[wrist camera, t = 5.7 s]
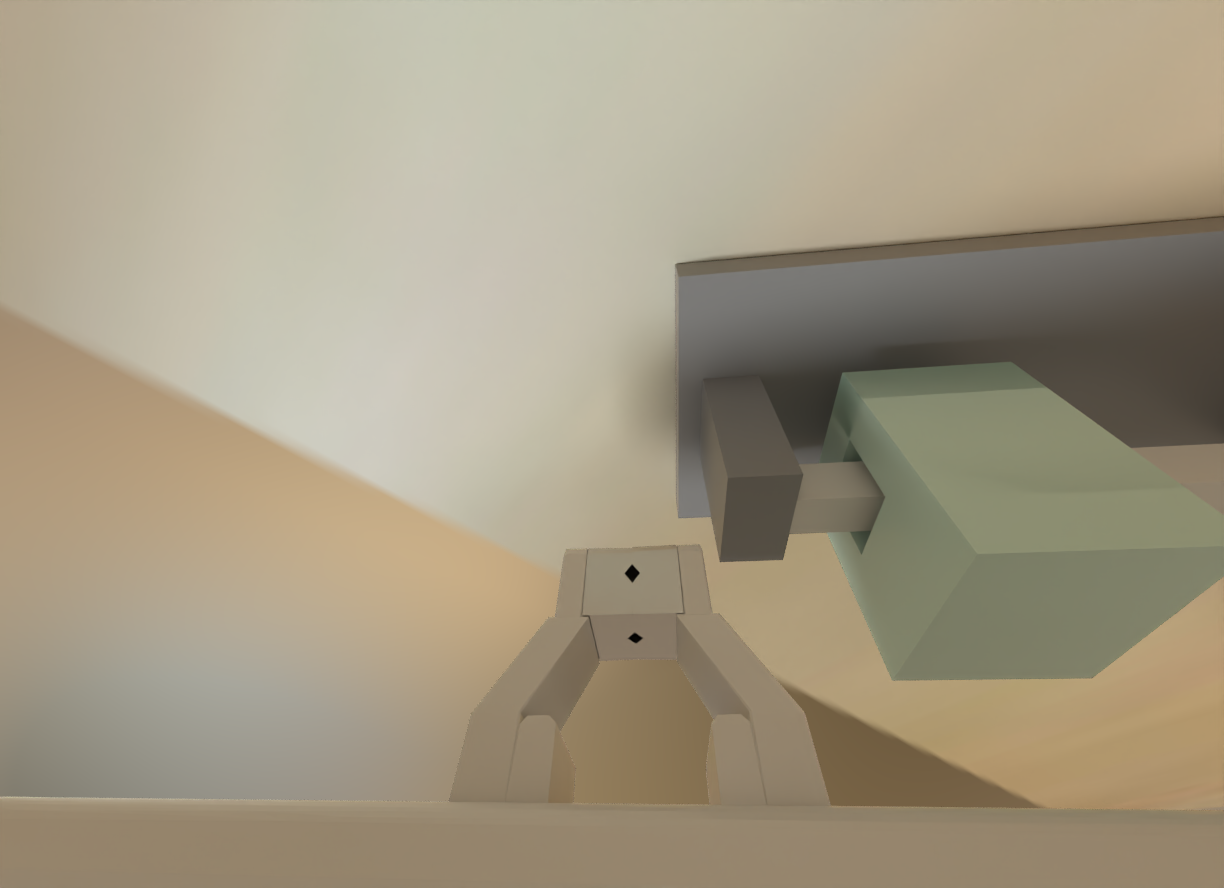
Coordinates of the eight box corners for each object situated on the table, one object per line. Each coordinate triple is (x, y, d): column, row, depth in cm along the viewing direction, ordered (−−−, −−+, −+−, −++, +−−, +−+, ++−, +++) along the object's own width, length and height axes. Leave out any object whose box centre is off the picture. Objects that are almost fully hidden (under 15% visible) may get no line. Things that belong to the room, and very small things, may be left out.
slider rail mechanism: (675, 264, 12) (714, 414, 6) (1645, 180, 10) (2814, 291, 5) (676, 499, 18) (698, 685, 12) (1301, 471, 16) (1655, 675, 10)
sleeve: (842, 372, 11) (977, 554, 7) (1011, 361, 11) (1265, 544, 7) (810, 495, 14) (892, 680, 10) (944, 489, 14) (1092, 678, 9)
